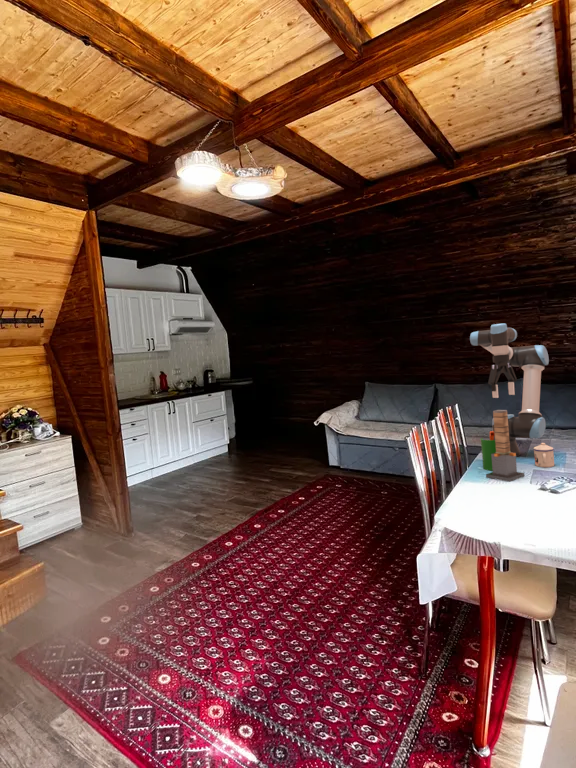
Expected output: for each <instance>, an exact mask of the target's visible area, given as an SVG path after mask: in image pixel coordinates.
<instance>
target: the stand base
mask: <svg viewBox="0 0 576 768" xmlns="http://www.w3.org/2000/svg"><path fill="white" fill-rule="evenodd" d="M491 457H492V470H493V471H490V472H489V473H486V474H485V478H487V479H492V480H493V479H494V480H499V481H504V482H508V483H509V482H513V481H515V480H517V479H520V478H524V477H525V473H524V472H519V471H518V469H517V468H518V467H517V466H518V465H517V456H516V453H513V452H511V453H510V454H507V455H501V454H500V453H492V454H491Z"/></svg>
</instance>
